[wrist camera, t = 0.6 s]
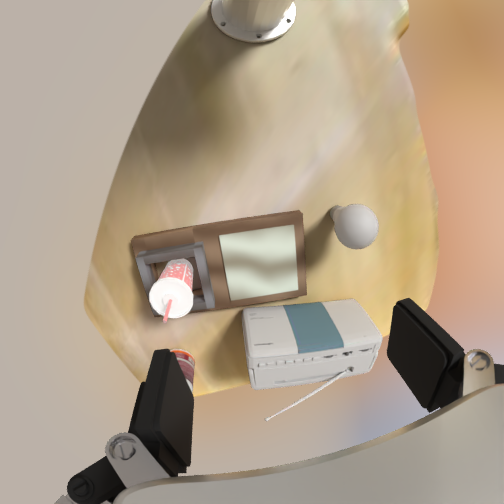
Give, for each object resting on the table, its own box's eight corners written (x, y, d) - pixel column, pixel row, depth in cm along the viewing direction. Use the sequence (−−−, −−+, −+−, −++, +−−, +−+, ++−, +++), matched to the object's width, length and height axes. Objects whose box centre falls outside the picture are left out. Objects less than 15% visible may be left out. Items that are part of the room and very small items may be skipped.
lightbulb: (318, 232, 44) (345, 260, 34) (315, 195, 42) (344, 213, 32) (352, 227, 44) (386, 251, 34) (351, 191, 42) (386, 207, 32)
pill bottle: (167, 344, 50) (158, 387, 39) (198, 352, 51) (195, 396, 40) (162, 364, 52) (154, 407, 41) (191, 372, 53) (188, 414, 42)
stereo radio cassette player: (353, 292, 49) (407, 364, 31) (346, 327, 52) (389, 401, 34) (240, 302, 48) (252, 392, 29) (242, 338, 51) (252, 427, 32)
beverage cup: (154, 272, 44) (131, 322, 31) (175, 245, 43) (156, 290, 30) (183, 293, 46) (172, 348, 33) (205, 268, 44) (200, 319, 32)
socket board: (134, 236, 41) (125, 246, 37) (299, 210, 42) (307, 218, 38) (156, 310, 47) (151, 325, 42) (303, 289, 48) (310, 302, 44)
